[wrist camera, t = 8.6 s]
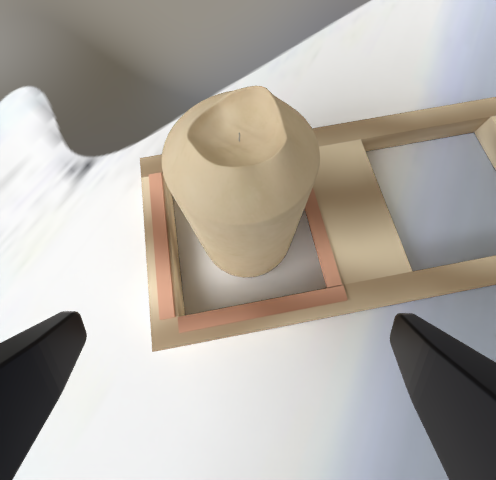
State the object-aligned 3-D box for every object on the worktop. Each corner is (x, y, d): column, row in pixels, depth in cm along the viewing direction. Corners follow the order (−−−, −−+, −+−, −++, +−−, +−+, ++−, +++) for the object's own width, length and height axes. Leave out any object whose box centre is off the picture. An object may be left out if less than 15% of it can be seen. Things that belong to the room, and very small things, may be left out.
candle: (236, 184, 19) (218, 32, 9) (306, 225, 18) (364, 99, 8) (187, 247, 17) (106, 143, 8) (259, 296, 16) (265, 243, 7)
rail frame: (577, 268, 16) (612, 261, 15) (161, 349, 15) (151, 352, 14) (484, 112, 20) (504, 93, 19) (148, 171, 19) (138, 156, 18)
